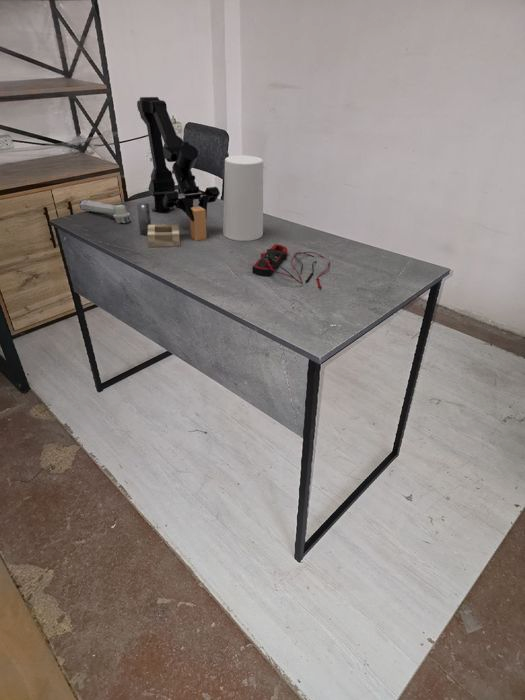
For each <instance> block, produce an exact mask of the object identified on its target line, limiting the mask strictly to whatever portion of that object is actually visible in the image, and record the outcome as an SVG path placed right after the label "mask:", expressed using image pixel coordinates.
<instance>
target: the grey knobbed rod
mask: <svg viewBox="0 0 525 700" xmlns="http://www.w3.org/2000/svg"><path fill="white" fill-rule="evenodd" d="M79 209H80V210H81V211H85V212H88V213H91V212H94V213H102V214H110V215H113V218H114V220H115V223H117V224H121V223H122V224H126V223H130V222H131V218H130V216H131V213H129V212H128V211H127V208H126V206H125V205H124V204H117V205H114V204H110V203H104V202H98V201H94V200H91V199H83V200H80V202H79ZM89 211H91V212H89Z"/></svg>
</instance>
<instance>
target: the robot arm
mask: <svg viewBox="0 0 525 700" xmlns="http://www.w3.org/2000/svg"><path fill="white" fill-rule="evenodd" d="M136 106H137V111H138V112H139V116H140V119H141V120H142V121H143V122H144V124H145V125H146V131H147V135H148V142H149V148H150V149H149V150H150V154H151V160H152V165H153V169H152V171H151V173H150V181H149V185H148V188H147V189H148V193H149V195H150V196H152V197H154V199H153V200H154V208H152V209H151V211H152V212H158V213H164V214H167V213H169V212H170V211H172V210H174V209H180V210H181V211H183V212H184V213H185V215H186V216H187V217H188V218H189V220H190V219H191V220H192V222H194V216H193V212H192V209H191V208H193V206H194V200H198V204H197V205H198V206H197V207H200V206H201V207H202V208H204V209H205V210H206V218H207V216H208V203H209V204H210V203H215V202H216V201H217V200H218V197H219V196H220V193H221V192H220V189H219V188H218V187H217V186H209V187H206V188H205V190H204V191H203V192H199V191H200V187H199V186H197V184H196V183H197V182H196V180H195V179H196V175H194V174H193V172H192V169H193V168H194V166H195V163H196V161H197V159H198V157H199V151H198V149H197V148H196V147H195V146H194V145H192V144H190V143H189V141H183V139H182V138H181V137H180V136H179V135H177V132H176V130H175V128H174V125H173V123H172V120H171V117H170V115H169V112H168V109H167V103H166V101H165V100H163V99H160V98H159V97H158V96H143V97H142V96H140V97H139V100H137V101H136ZM167 162H169V163H173V164H172V167H171V168H172V170H169V168H168V167H167ZM173 175H174V177H175V180H176V182H175V180H174V178H173ZM176 183H177V186H176ZM176 187H177V191H176V190H175V188H176ZM174 207H175V208H174Z"/></svg>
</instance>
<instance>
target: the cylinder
mask: <svg viewBox="0 0 525 700" xmlns="http://www.w3.org/2000/svg"><path fill="white" fill-rule="evenodd" d="M223 176H224V177H223V179H224V181H223V183H224V184H223V185H224V186H223V215H222V216H223V217H222V218H223V219H222V220H223V222H222V226H223V227H222V235H223V236H224V237H226V238H227V239H229V240H232V241H237V242H238V241H240V242H250V241H256V240H258V239H260V238H262V237H263V235H264V234H263V233H264V160H263V158H261V157H258V156H254V155H246V154H245V155H230V156H227V157H226V158H225V159H224V175H223Z"/></svg>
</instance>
